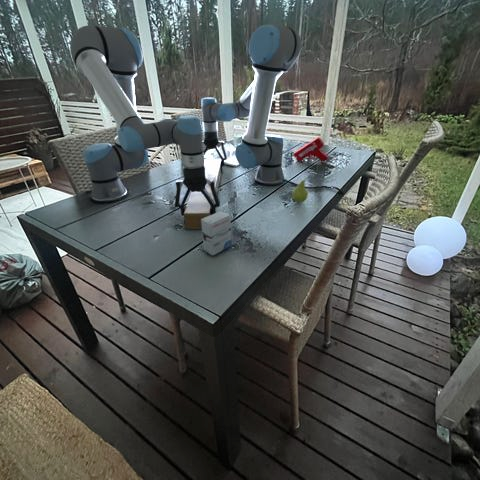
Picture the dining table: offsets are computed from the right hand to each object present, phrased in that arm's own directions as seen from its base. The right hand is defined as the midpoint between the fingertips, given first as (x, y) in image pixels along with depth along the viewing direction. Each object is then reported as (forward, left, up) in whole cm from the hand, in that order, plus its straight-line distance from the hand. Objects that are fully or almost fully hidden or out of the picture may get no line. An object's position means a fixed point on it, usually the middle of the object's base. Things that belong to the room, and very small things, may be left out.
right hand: (213, 171), depth 156 cm
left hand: (-19, +57, 0) cm, 60 cm away
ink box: (-32, +70, 0) cm, 77 cm away
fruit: (-53, +25, 0) cm, 58 cm away
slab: (-9, +28, 0) cm, 30 cm away
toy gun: (-51, -38, 0) cm, 63 cm away
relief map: (+3, -33, 0) cm, 33 cm away
